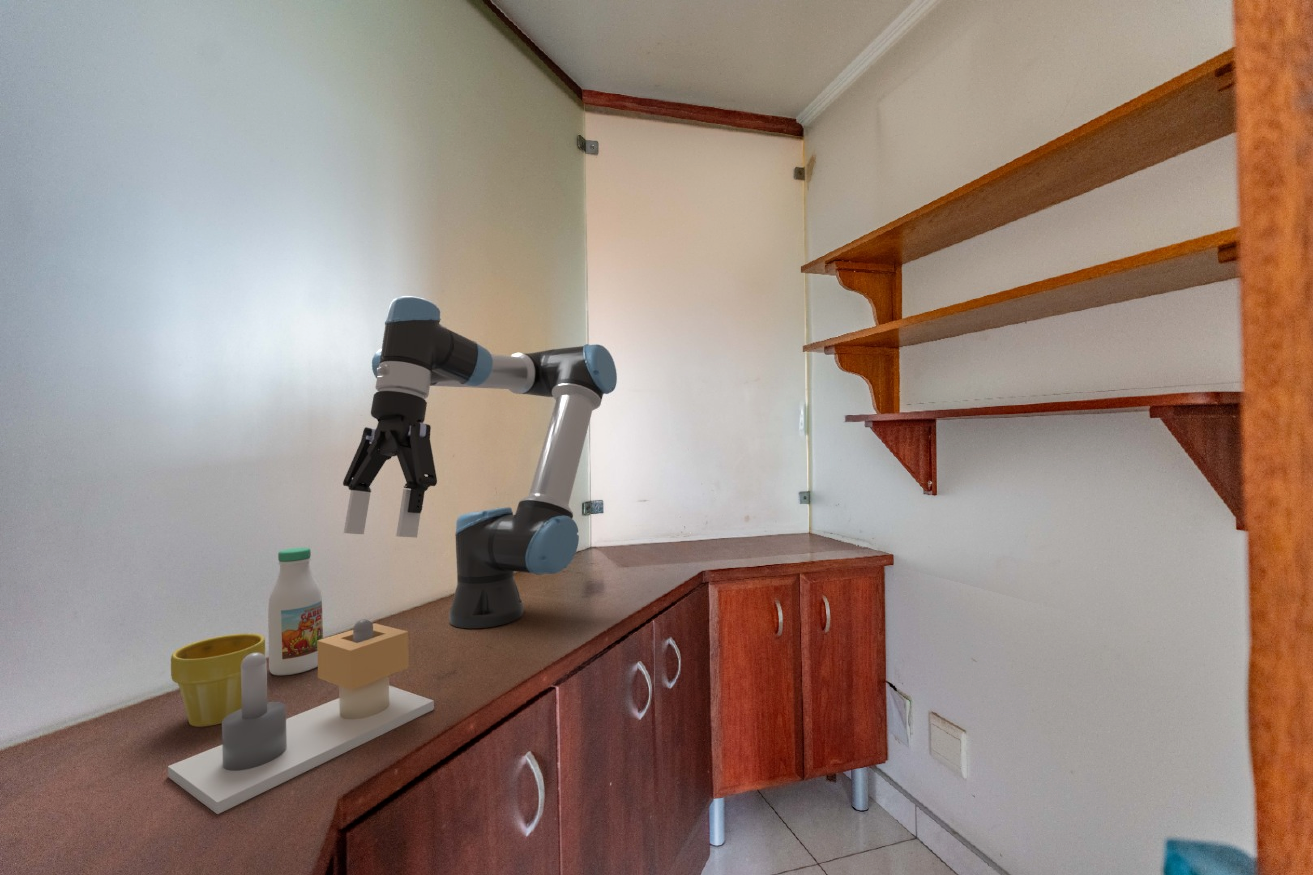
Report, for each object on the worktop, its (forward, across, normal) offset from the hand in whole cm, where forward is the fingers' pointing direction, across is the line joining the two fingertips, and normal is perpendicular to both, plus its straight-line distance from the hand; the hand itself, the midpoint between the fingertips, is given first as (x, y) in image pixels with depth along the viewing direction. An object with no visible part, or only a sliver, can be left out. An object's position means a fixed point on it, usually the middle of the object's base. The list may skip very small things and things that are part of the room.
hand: (378, 535), depth 80 cm
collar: (+18, +2, 0) cm, 19 cm away
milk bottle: (+23, -26, +5) cm, 35 cm away
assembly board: (+26, +2, -6) cm, 26 cm away
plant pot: (+26, -17, -9) cm, 32 cm away
